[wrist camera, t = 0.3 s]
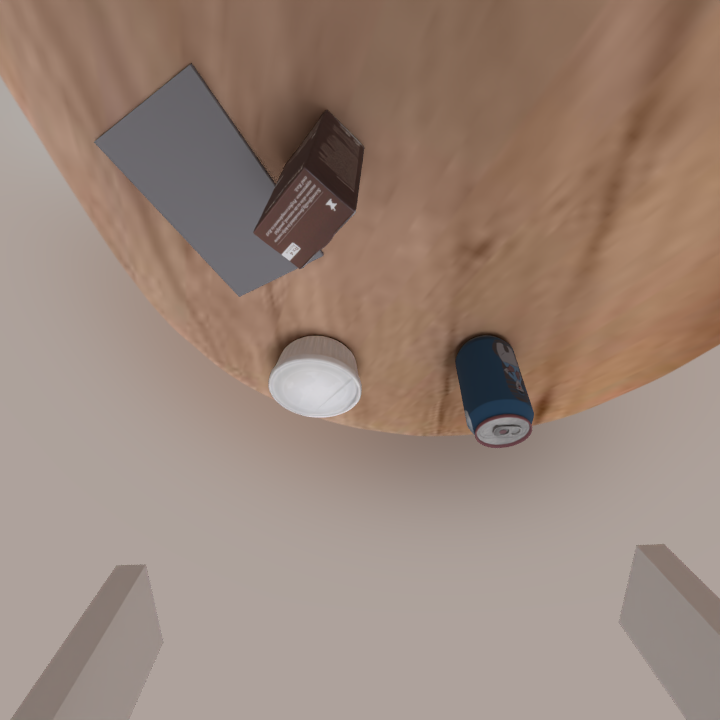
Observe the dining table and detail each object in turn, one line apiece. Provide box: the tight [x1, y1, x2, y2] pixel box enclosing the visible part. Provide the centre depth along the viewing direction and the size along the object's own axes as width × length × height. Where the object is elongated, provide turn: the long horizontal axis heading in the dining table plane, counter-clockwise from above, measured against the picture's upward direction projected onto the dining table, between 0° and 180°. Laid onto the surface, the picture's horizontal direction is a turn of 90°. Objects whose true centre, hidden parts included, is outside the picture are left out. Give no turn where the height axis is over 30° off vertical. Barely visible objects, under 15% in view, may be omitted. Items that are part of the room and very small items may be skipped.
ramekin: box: [269, 336, 361, 417], centre depth 51 cm, size 11×11×5 cm
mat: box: [94, 63, 323, 297], centre depth 37 cm, size 18×11×1 cm, turn 29°
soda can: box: [456, 335, 534, 448], centre depth 46 cm, size 7×7×12 cm
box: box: [253, 110, 364, 269], centre depth 30 cm, size 6×4×12 cm
